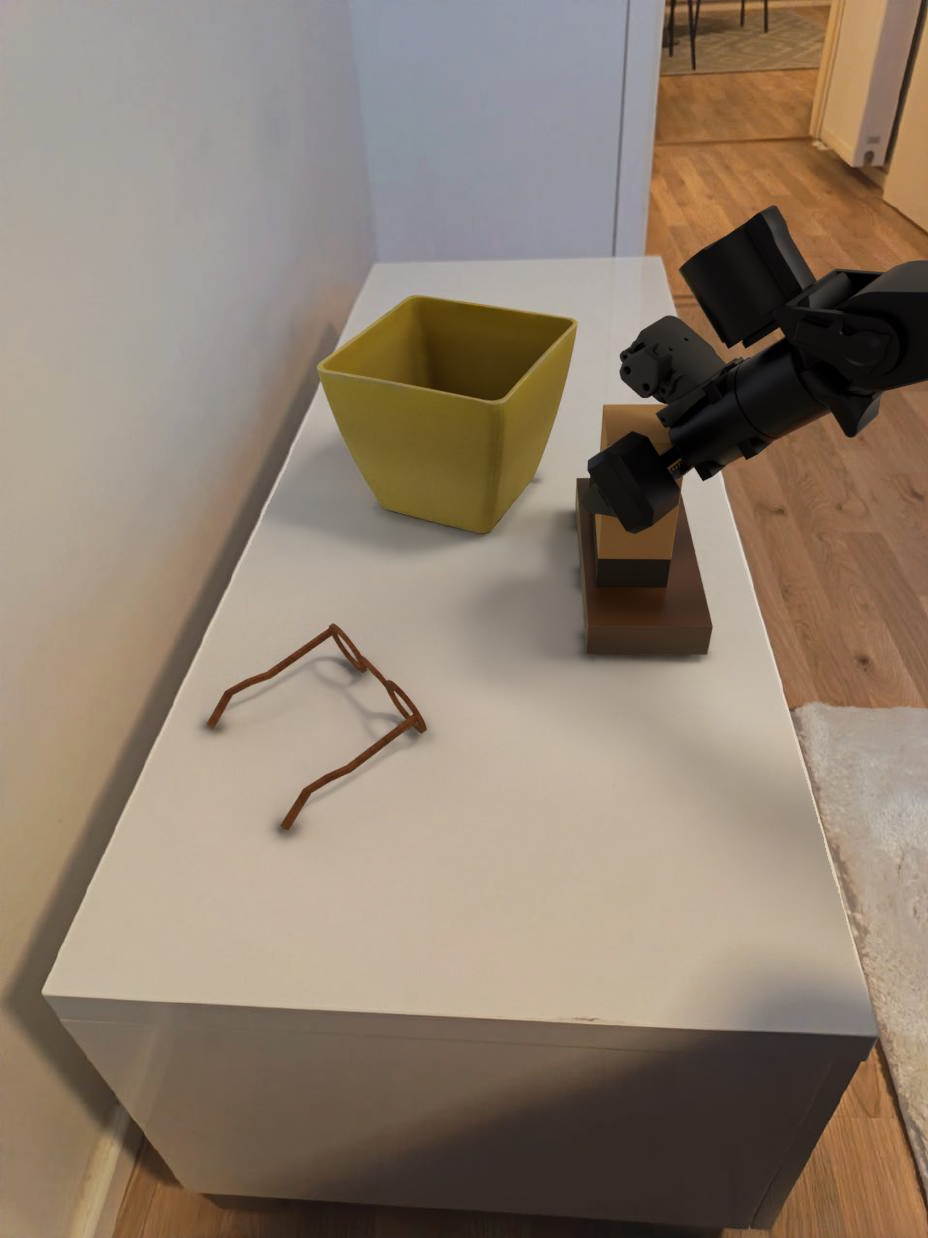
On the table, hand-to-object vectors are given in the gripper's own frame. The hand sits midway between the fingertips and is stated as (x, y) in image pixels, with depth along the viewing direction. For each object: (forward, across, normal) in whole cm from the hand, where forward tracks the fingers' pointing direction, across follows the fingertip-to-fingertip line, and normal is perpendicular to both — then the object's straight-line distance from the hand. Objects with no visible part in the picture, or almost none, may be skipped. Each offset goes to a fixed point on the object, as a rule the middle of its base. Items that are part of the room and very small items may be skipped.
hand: (617, 480), depth 72 cm
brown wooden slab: (+8, -3, +9) cm, 13 cm away
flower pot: (+24, -4, -7) cm, 25 cm away
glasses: (+14, +29, +3) cm, 32 cm away
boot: (+7, -4, +5) cm, 9 cm away
